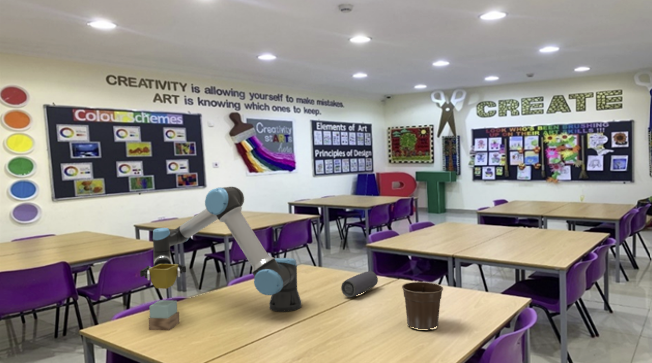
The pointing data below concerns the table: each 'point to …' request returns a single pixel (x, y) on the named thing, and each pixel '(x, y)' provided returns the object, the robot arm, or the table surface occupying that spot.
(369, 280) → the bluetooth speaker
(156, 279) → the flower pot
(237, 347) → the table surface
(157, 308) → the tower top
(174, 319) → the tower base
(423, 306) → the plant pot
